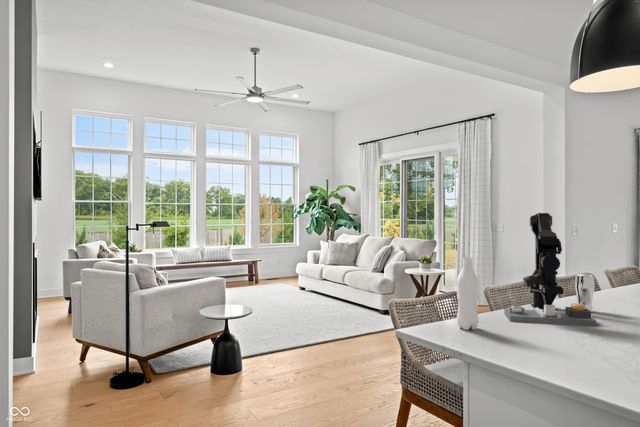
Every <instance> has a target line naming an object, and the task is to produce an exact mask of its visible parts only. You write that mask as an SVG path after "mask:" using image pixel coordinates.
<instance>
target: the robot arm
mask: <svg viewBox="0 0 640 427" xmlns="http://www.w3.org/2000/svg"><path fill="white" fill-rule="evenodd" d="M552 226H553V216H552V215H550V213H548V212H538V213H536V214H533V215H530V217H529V227H530V228H531V229H530V230H531V232H532V233H533V235H534V236H535V239H534V241H535V242H534V243H535V246H534V248H535V258H534V259H535V269H534V271H533V272H532V274H531V275H527V276H525V277H522V279H523V282H524V284H525V287H527V288H529V293H530V294H532V298H533V299H532V303H530V306H532V307H533V308H535V307H536V308H539V309H544V305H553V303H554V301H555V299H556V298H557V296H558V295H564V288H563V287H562V286H560V285H559V284H558V281H557V275H559V274H558V271H557V270H559V268H560V267H561V261H560V259H559V258H558V257H557V255H561V254H562V252H563V248H562V241H561V240H560V238H558V236H557V233H555V232H554V231H552Z"/></svg>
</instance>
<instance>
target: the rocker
mask: <svg viewBox="0 0 640 427" xmlns="http://www.w3.org/2000/svg"><path fill="white" fill-rule="evenodd" d="M510 307H512V309H522V307H523V306H519V305H511V306H510Z"/></svg>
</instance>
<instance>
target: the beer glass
mask: <svg viewBox="0 0 640 427" xmlns="http://www.w3.org/2000/svg"><path fill="white" fill-rule="evenodd" d="M595 287H596V286H595V276H594V275H593V274H587V273H577V274H575V281H574V289H575V294H576V300H577V302H576V304H583V305H585V308H587V309H588V310H590V311H591V313H593V312H594V307H593V299H594V294H595Z"/></svg>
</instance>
